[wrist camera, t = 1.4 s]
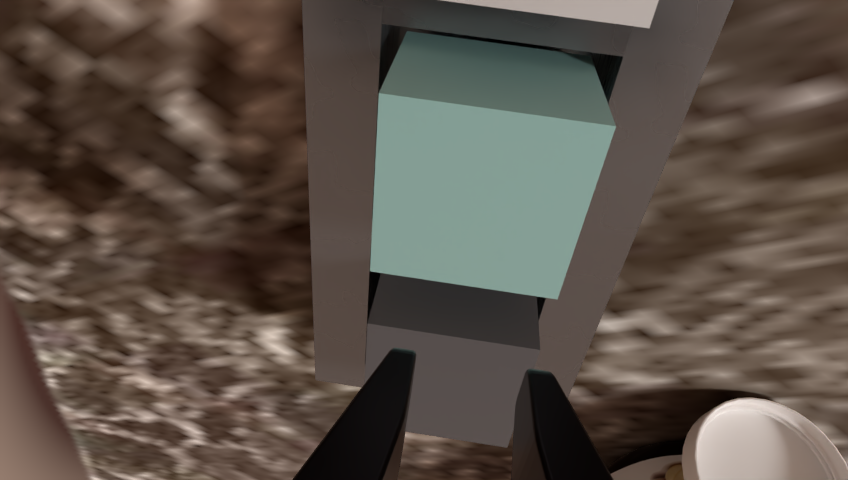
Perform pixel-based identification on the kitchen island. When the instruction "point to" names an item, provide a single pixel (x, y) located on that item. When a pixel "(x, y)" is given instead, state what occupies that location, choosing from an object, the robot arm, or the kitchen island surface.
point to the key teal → (485, 163)
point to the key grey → (582, 9)
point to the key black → (456, 353)
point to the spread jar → (739, 448)
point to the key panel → (426, 13)
